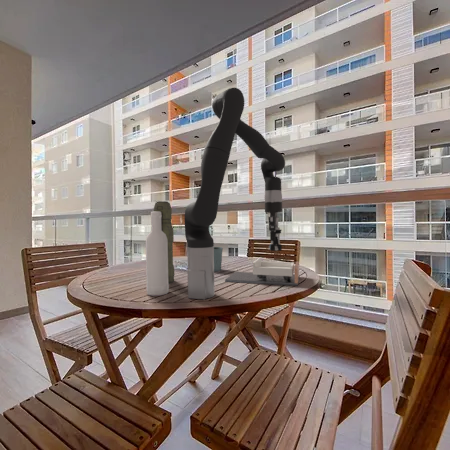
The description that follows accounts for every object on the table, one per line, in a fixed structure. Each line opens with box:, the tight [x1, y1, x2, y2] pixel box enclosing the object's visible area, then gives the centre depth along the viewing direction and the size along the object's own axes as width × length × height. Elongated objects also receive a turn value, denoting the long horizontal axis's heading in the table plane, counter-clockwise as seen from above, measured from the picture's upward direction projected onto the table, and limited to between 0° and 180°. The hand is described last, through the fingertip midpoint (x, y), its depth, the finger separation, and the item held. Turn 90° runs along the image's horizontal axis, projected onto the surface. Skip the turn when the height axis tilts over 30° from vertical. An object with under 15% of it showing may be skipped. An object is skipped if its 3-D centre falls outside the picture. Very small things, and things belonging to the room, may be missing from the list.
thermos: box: [153, 200, 175, 284], centre depth 111 cm, size 9×12×35 cm
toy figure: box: [269, 226, 283, 252], centre depth 112 cm, size 7×5×10 cm
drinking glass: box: [214, 246, 224, 273], centre depth 137 cm, size 10×10×12 cm
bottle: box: [145, 211, 170, 297], centre depth 94 cm, size 8×8×30 cm
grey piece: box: [224, 261, 300, 287], centre depth 114 cm, size 17×30×7 cm, turn 72°
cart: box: [252, 256, 295, 280], centre depth 112 cm, size 16×16×7 cm
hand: (273, 240), depth 112 cm, fingers closed on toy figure, 5 cm apart
